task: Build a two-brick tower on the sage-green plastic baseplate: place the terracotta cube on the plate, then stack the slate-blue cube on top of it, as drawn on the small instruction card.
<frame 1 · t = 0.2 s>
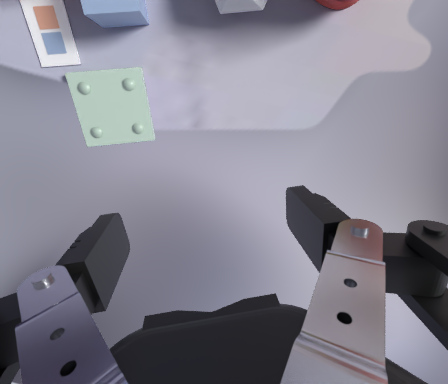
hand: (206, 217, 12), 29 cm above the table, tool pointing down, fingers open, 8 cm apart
instruction card: (51, 31, 31), on the table
baseplate: (114, 108, 36), on the table
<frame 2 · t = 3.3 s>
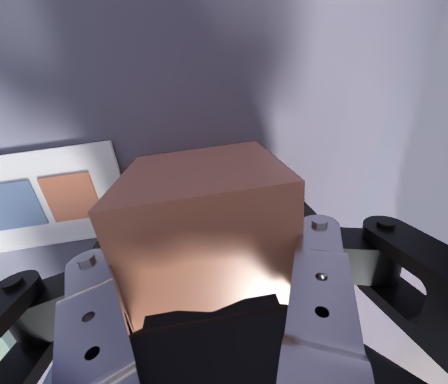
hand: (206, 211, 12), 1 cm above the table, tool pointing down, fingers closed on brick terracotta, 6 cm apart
instruction card: (45, 199, 12), on the table
brick terracotta: (205, 202, 13), on the table, touching gripper
when the fingers open (3 cm above the table, at t = 8.7 s): brick terracotta stays where it is, resting on baseplate.
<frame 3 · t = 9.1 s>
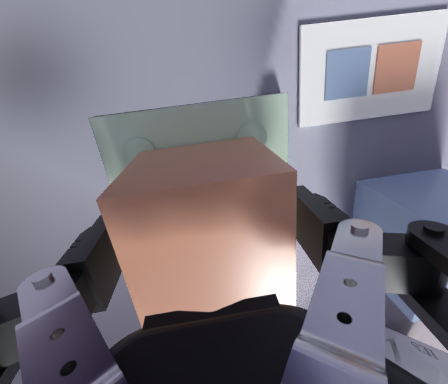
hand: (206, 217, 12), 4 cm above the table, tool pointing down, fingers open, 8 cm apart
instruction card: (369, 71, 13), on the table
baseplate: (204, 189, 15), on the table
brick blue: (391, 213, 17), on the table
brick terracotta: (205, 195, 14), point 1 cm above the table, touching baseplate
die: (375, 346, 23), on the table
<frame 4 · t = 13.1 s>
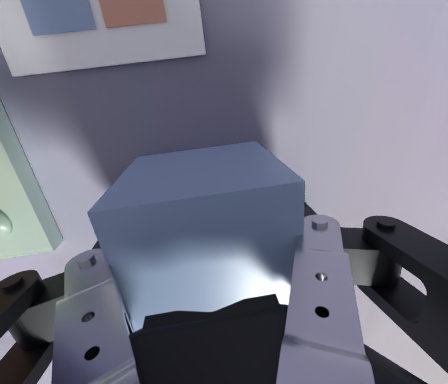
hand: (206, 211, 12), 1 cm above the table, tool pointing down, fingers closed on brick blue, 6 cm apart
brick blue: (205, 202, 13), on the table, touching gripper
when the fingers open (9 cm above the table, at t = 18.1 s): brick blue stays where it is, resting on brick terracotta.
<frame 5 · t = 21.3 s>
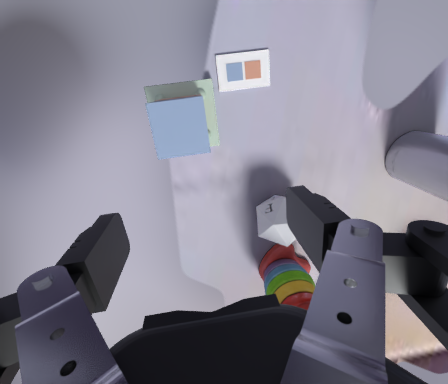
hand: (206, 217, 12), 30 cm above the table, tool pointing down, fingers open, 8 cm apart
instruction card: (243, 71, 37), on the table
stacking bear: (280, 265, 52), on the table
baseplate: (184, 117, 38), on the table
brick blue: (182, 122, 32), point 7 cm above the table, touching brick terracotta
die: (273, 208, 47), on the table
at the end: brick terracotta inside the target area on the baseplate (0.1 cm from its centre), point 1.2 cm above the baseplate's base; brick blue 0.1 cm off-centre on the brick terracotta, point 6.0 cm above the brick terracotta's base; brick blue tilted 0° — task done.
